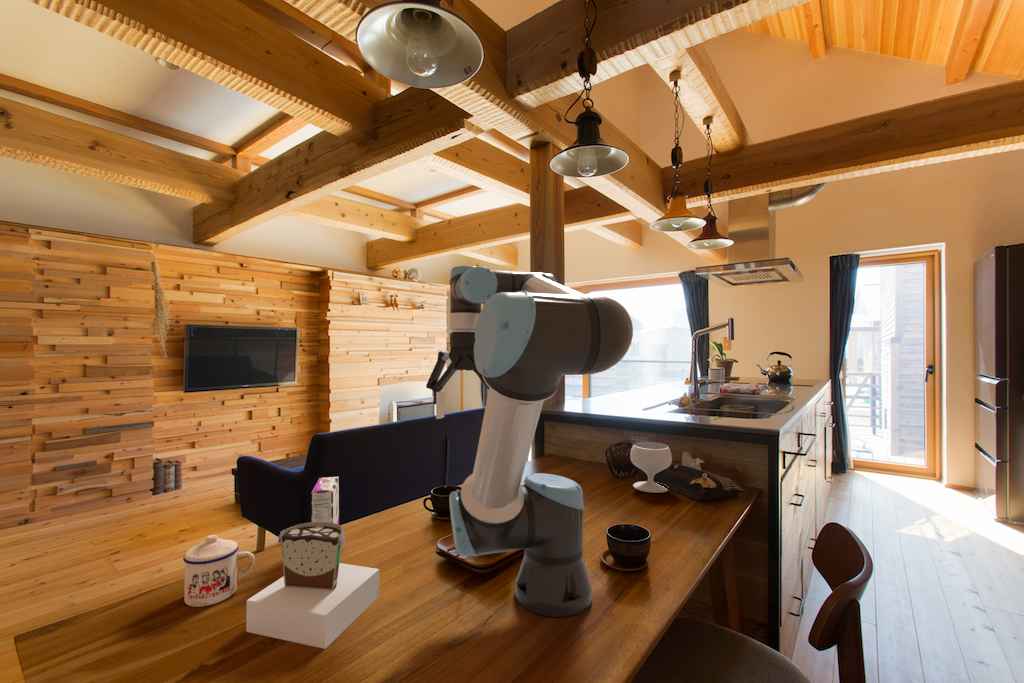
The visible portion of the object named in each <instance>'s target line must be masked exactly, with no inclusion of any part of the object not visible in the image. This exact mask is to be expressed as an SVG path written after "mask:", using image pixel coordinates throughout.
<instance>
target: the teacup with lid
mask: <svg viewBox="0 0 1024 683" xmlns="http://www.w3.org/2000/svg"><path fill="white" fill-rule="evenodd" d="M238 550H239V544H238V543H237V542H236V541H235V540H232V539H227V538H226V539H224V538H220V537H218V535H217V534H209V535H207V536H206V538H205V540H204V541H202V542H200V543H198V544H196V545H194V546H192V547H191V548H188V550H187V551H186V552H185V553H184V555H183V558H182V559H183V560H182V561H183V562H184V586H183V587H184V589H183V590H184V592H183V593H184V594H183V595H184V596H183V597H184V600H183V602H185V604H186V605H188V606H189V607H194V608H196V607H197V608H199V607H200V608H201V607H202V608H203V607H207V606H212V605H216V604H218V603H220V602H222V601H225V600H226V599H229V598H230V597H231V596H232V595H234V593H235V592H236V590H237V588H238V587H237V586H238V584H237V583H238V582H237V580H238V579H241V578H244V577H246V576H247V575H249V574H250V572H251V571H252V570H253V568H254V566H255V562H256V560H255V559H256V558H255V555H254V553H252V552H251V551H246V550H245V551H244V550H243V551H239V552H238ZM241 557H247V558H249V559H250V564H249V566H248V567H247V569H245V570H243V571H242V572H238V558H241ZM237 572H238V573H237ZM194 575H195V576H194Z"/></svg>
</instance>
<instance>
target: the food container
mask: <svg viewBox="0 0 1024 683" xmlns="http://www.w3.org/2000/svg"><path fill="white" fill-rule="evenodd" d="M277 544H280V545H281V546H280V547H281V557H282V560H281V561H282V569H283V571H282V572H283V576H284V584H285V587H287V588H301V589H314V590H328V591H334V589H335V588H336V585H337V579H338V570H339V563H340V562H341V561H340V560H341V552H342V551H341V550H342V547H343V546H344V545H345V544H346V537H345V531H344V530H343V527H342V526H341V525H340V524H339V525H338V524H335V523H331V522H312V521H310V522H305V523H299V524H295V525H293V526H289V527H287V528H286V529H283V530H281V531H280V534H279V535H278V539H277Z"/></svg>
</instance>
